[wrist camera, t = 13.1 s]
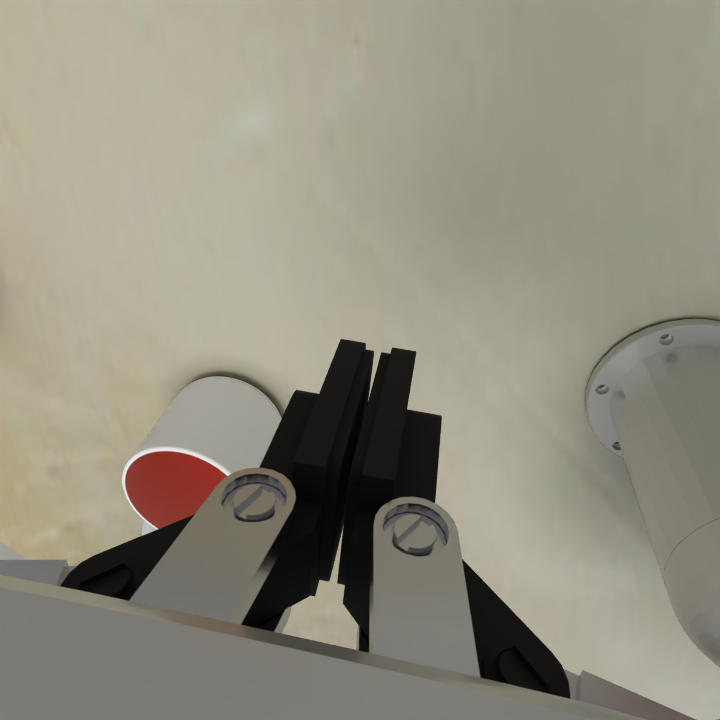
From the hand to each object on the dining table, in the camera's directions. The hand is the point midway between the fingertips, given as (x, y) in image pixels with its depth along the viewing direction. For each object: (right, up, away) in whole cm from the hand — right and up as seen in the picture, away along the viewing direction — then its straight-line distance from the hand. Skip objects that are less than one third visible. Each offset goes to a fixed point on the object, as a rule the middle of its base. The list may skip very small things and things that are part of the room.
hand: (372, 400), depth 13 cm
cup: (-11, -4, +38) cm, 40 cm away
